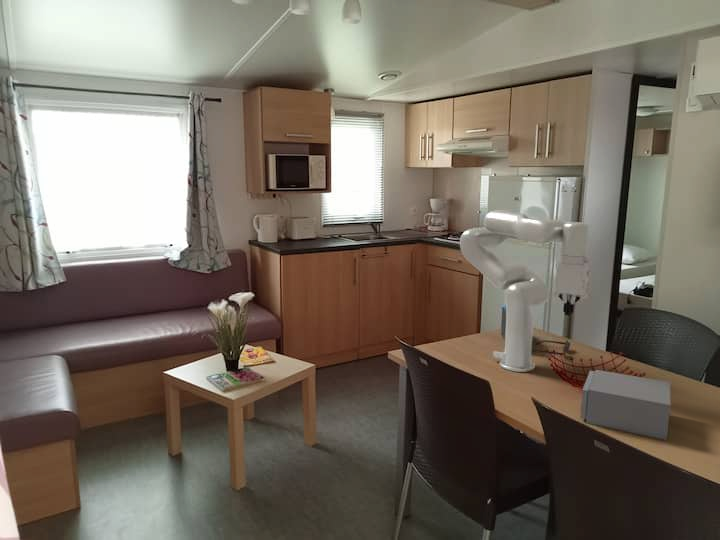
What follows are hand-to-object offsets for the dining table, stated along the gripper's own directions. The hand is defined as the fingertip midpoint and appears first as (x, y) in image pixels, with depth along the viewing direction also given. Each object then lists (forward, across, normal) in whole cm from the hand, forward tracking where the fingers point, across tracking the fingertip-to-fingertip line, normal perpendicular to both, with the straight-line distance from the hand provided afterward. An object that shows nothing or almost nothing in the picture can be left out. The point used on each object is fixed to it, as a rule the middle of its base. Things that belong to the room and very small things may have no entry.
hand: (568, 314), depth 174 cm
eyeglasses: (+25, +11, -31) cm, 42 cm away
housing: (+24, -21, +18) cm, 37 cm away
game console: (+25, +27, -37) cm, 52 cm away
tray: (+23, -19, +18) cm, 35 cm away
